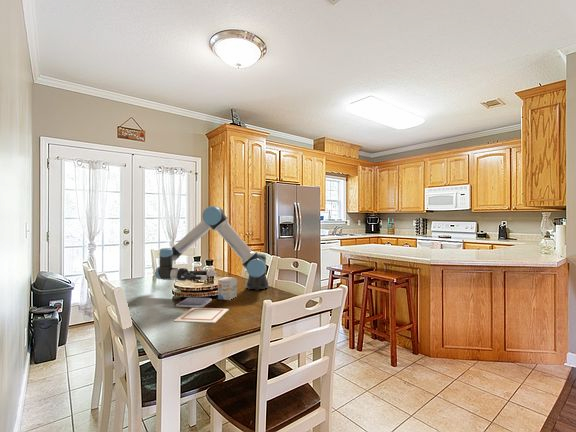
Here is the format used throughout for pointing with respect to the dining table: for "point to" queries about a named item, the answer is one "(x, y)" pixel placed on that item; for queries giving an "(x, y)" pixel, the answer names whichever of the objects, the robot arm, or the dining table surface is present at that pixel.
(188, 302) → the ink pad
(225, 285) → the ink box
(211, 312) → the marked sheet
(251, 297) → the dining table surface
